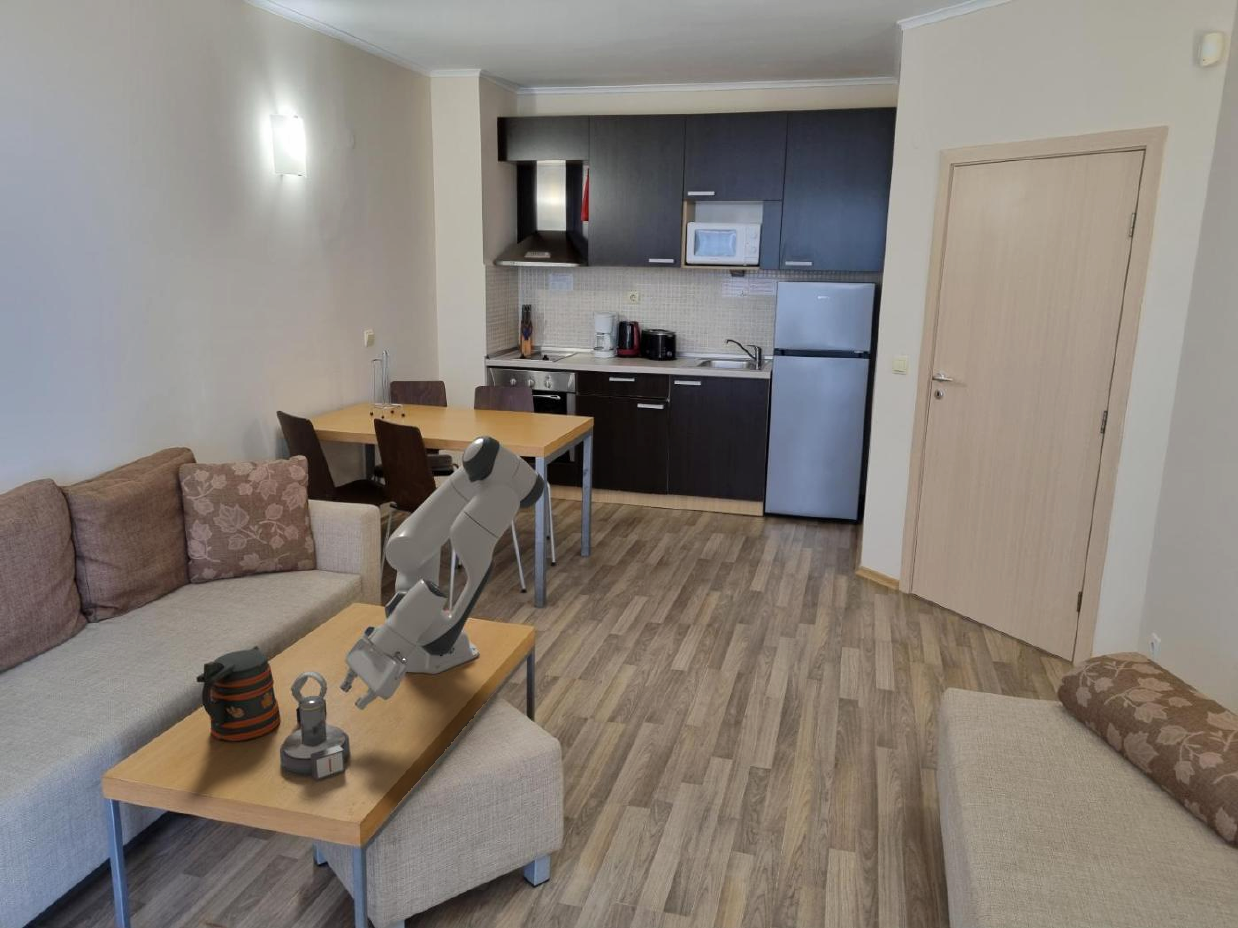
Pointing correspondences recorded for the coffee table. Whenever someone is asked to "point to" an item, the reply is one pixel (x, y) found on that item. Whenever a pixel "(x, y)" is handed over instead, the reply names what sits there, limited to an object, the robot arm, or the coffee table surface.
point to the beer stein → (240, 695)
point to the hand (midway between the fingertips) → (350, 698)
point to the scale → (318, 762)
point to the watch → (300, 683)
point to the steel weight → (312, 720)
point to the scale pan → (300, 751)
